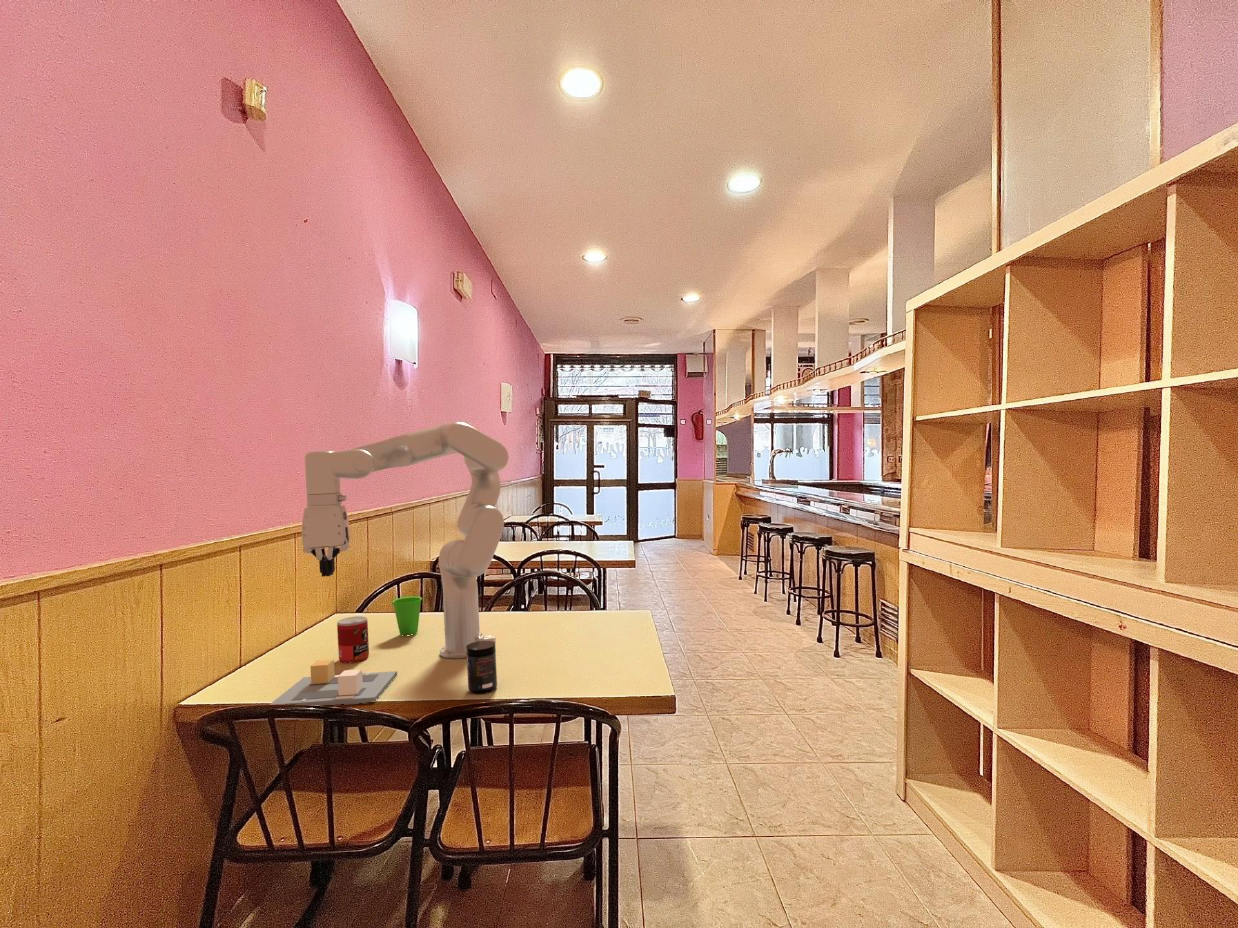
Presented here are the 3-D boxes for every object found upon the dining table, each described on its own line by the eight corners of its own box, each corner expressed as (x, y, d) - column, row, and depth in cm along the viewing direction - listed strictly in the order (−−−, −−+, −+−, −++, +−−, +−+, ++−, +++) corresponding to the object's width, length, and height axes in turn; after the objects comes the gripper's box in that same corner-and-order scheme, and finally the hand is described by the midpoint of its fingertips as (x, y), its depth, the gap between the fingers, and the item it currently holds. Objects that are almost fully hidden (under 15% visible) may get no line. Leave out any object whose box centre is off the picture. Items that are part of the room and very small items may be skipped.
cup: (418, 637, 186) (416, 602, 186) (388, 638, 186) (387, 603, 186) (427, 629, 195) (426, 595, 195) (399, 630, 195) (398, 596, 195)
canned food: (358, 664, 164) (356, 623, 164) (332, 663, 165) (330, 623, 165) (375, 654, 171) (373, 616, 171) (350, 654, 173) (348, 615, 173)
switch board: (397, 675, 153) (397, 670, 153) (375, 702, 136) (374, 696, 136) (303, 682, 151) (303, 676, 151) (269, 709, 134) (269, 704, 134)
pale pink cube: (362, 687, 142) (361, 669, 142) (356, 694, 138) (355, 675, 138) (345, 688, 141) (344, 670, 141) (338, 695, 137) (337, 676, 137)
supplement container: (489, 681, 146) (487, 638, 146) (502, 689, 141) (500, 644, 141) (463, 689, 142) (461, 645, 142) (476, 697, 137) (474, 651, 136)
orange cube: (334, 677, 150) (334, 659, 150) (328, 682, 146) (327, 664, 146) (318, 678, 150) (317, 660, 150) (311, 684, 146) (310, 666, 146)
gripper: (360, 498, 152) (364, 570, 153) (299, 501, 151) (303, 574, 151) (349, 500, 145) (353, 576, 145) (285, 503, 144) (288, 580, 144)
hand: (327, 575), depth 148 cm, fingers closed
